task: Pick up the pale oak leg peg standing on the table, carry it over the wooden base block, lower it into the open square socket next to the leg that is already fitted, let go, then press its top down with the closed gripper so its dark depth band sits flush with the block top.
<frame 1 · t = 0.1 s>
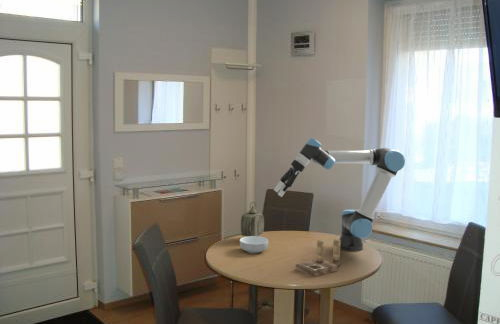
hand: (277, 193, 280), 36 cm above the table, fingers open, 13 cm apart
leg peg: (336, 265, 268), on the table
wooden base block: (316, 270, 260), on the table
cereal bowl: (253, 251, 292), on the table
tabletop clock: (252, 241, 314), on the table
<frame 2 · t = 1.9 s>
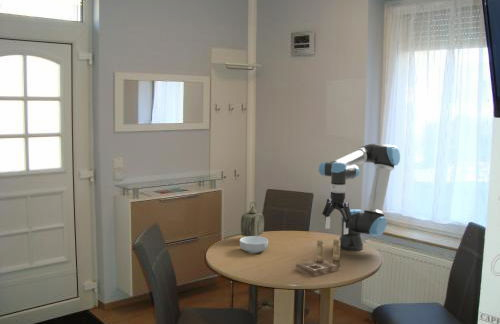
hand: (336, 231, 266), 19 cm above the table, fingers open, 13 cm apart
nothing on the table moved.
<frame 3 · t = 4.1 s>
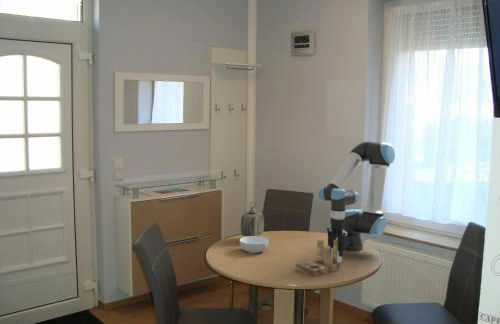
hand: (336, 260, 268), 3 cm above the table, fingers closed on leg peg, 4 cm apart
leg peg: (336, 265, 268), on the table, touching gripper
everything else where it was.
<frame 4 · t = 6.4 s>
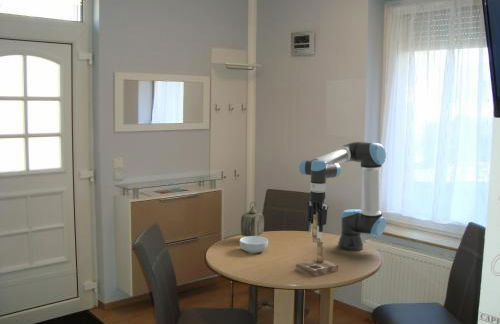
hand: (316, 236, 253), 19 cm above the table, fingers closed on leg peg, 4 cm apart
leg peg: (316, 241, 254), point 16 cm above the table, touching gripper
everything else where it was.
when the fingers open (4 cm above the table, at t = 8.6 s): leg peg drops 1 cm, resting in wooden base block.
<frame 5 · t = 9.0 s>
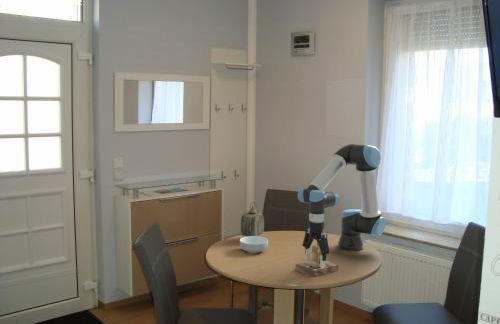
hand: (315, 263, 255), 5 cm above the table, fingers open, 10 cm apart
leg peg: (314, 273, 255), resting in wooden base block
everything else where it was.
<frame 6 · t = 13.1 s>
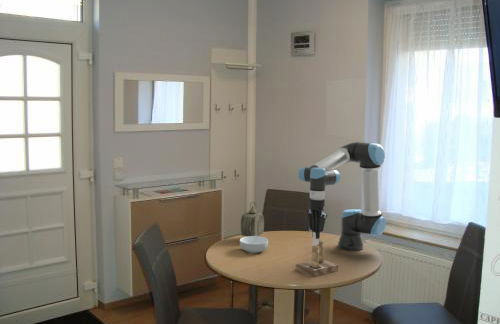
hand: (315, 244, 254), 15 cm above the table, fingers closed
nothing on the table moved.
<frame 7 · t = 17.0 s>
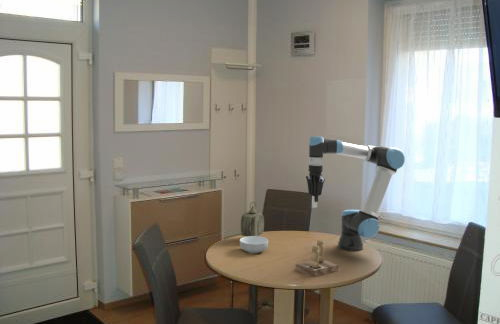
hand: (314, 207, 275), 29 cm above the table, fingers closed
nothing on the table moved.
at the end: leg peg 0.0 cm from the target spot on the wooden base block, point 0.0 cm above the wooden base block's base; leg peg tilted 0°; the gripper is holding nothing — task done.
